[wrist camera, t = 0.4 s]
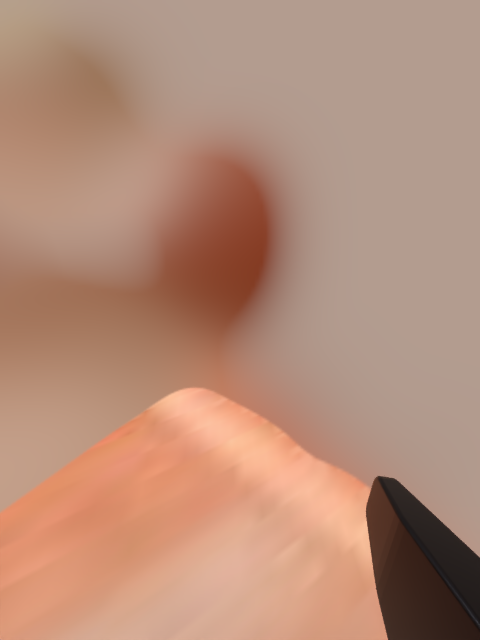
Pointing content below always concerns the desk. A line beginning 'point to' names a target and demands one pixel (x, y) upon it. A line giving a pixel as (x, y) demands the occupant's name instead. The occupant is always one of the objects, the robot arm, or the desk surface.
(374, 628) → the desk surface
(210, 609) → the desk surface
